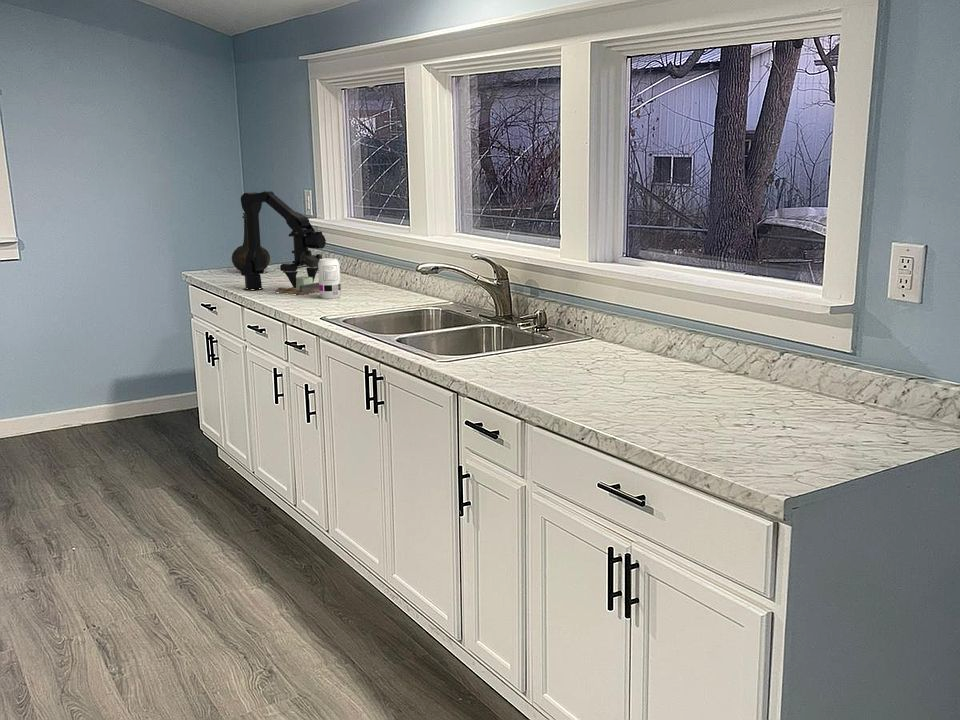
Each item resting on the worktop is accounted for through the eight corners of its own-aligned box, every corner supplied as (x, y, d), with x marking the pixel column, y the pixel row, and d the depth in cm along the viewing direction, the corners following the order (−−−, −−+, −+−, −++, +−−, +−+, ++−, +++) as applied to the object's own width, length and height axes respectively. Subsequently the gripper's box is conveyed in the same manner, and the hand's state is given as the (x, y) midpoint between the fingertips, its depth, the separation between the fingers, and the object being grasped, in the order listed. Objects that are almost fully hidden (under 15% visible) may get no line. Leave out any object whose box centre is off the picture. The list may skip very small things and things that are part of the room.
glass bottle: (252, 268, 463) (248, 210, 457) (279, 270, 453) (275, 211, 447) (224, 273, 448) (220, 213, 442) (251, 275, 439) (247, 214, 433)
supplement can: (315, 298, 368) (313, 260, 365) (328, 295, 375) (326, 257, 372) (332, 299, 364) (330, 260, 361) (345, 296, 371) (343, 258, 368)
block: (293, 290, 383) (292, 277, 382) (302, 288, 387) (301, 276, 386) (304, 291, 379) (303, 278, 378) (313, 289, 383) (312, 277, 382)
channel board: (275, 293, 383) (275, 284, 383) (299, 288, 394) (298, 280, 393) (300, 295, 375) (299, 286, 375) (323, 291, 386) (323, 282, 385)
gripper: (298, 251, 367) (300, 291, 371) (332, 246, 382) (333, 285, 386) (278, 249, 374) (280, 289, 377) (312, 245, 389) (314, 283, 392)
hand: (303, 286), depth 383 cm, fingers open, 9 cm apart
